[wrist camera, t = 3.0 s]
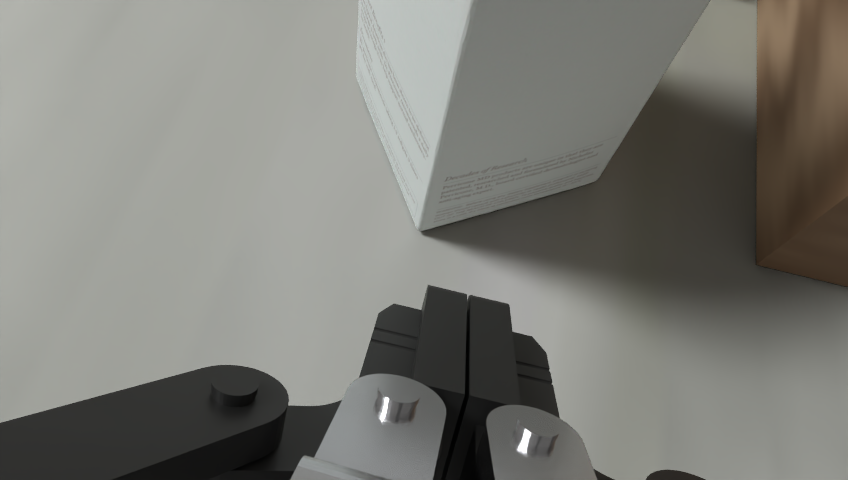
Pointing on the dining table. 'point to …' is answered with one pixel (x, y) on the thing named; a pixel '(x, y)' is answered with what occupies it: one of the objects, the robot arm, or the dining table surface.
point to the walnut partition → (802, 138)
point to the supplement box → (508, 92)
